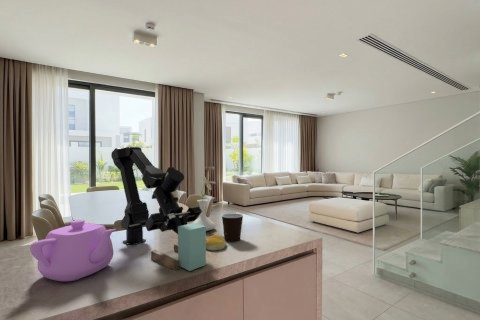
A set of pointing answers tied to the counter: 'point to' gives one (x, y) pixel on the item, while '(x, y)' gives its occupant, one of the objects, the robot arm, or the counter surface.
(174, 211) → the robot arm
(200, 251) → the teal block
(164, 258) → the walnut chute
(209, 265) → the counter surface
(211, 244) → the bread roll
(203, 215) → the flower in vase
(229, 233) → the coffee mug
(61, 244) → the teapot
